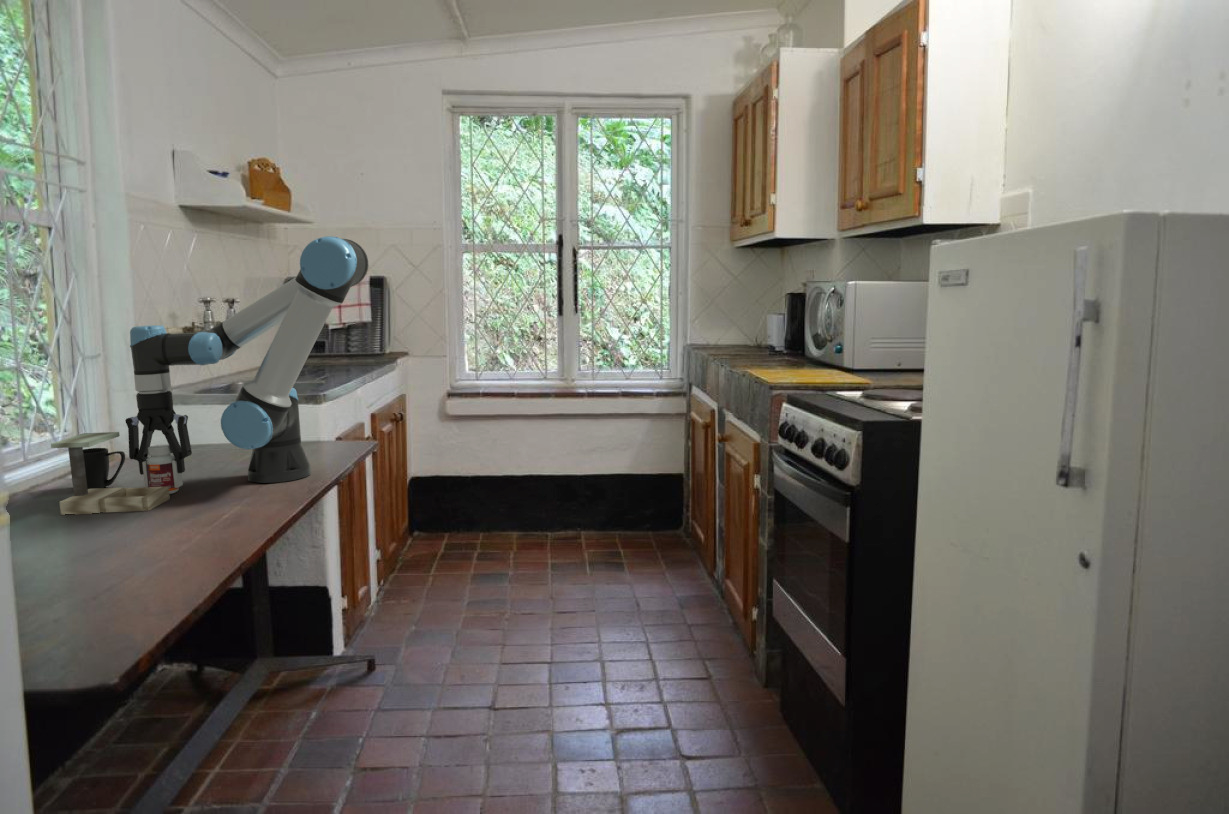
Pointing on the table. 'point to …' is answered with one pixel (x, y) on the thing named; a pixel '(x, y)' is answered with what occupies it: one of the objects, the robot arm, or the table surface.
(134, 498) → the socket block
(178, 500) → the table surface
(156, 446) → the pill bottle
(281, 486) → the table surface
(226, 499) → the table surface
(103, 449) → the mug
